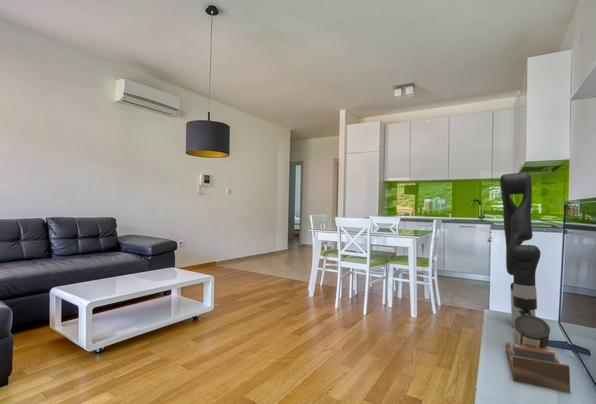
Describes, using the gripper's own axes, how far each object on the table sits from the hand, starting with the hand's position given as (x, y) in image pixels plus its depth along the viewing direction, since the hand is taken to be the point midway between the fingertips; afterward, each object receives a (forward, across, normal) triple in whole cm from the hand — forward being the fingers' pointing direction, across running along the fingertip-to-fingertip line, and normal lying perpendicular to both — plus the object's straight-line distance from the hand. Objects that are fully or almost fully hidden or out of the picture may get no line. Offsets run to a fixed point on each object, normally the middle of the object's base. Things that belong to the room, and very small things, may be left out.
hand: (526, 339), depth 122 cm
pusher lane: (+5, +15, 0) cm, 15 cm away
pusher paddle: (+5, +15, 0) cm, 16 cm away
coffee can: (+3, +5, 0) cm, 6 cm away
